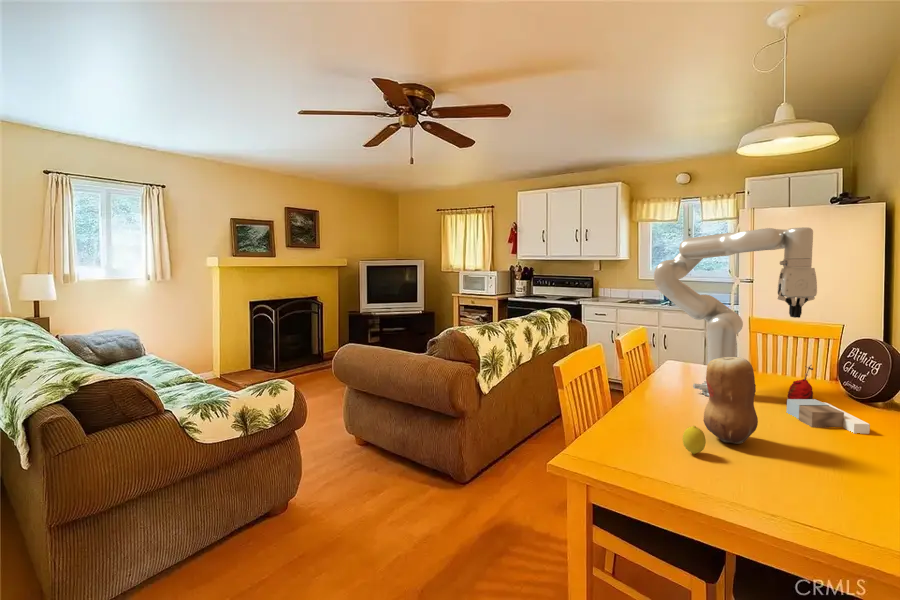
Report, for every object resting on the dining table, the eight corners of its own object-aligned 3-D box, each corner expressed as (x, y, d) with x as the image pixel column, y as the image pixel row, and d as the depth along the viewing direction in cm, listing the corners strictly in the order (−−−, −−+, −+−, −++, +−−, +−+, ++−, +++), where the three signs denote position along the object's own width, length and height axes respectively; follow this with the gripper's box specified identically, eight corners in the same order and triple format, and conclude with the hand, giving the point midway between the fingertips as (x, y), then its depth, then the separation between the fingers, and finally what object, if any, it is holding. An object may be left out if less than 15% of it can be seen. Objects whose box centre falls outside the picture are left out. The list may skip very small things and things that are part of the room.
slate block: (798, 419, 143) (799, 405, 143) (786, 413, 149) (787, 399, 149) (828, 420, 143) (829, 405, 142) (814, 413, 149) (815, 399, 148)
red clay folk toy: (795, 399, 162) (797, 360, 161) (817, 405, 156) (819, 363, 155) (783, 403, 159) (785, 362, 158) (805, 408, 153) (807, 366, 152)
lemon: (702, 451, 122) (703, 423, 121) (707, 459, 117) (708, 430, 116) (680, 448, 124) (681, 421, 123) (684, 457, 119) (684, 428, 118)
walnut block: (811, 427, 137) (812, 412, 136) (798, 420, 143) (799, 405, 142) (843, 428, 136) (843, 412, 135) (828, 421, 142) (829, 406, 141)
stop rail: (853, 433, 131) (854, 423, 131) (812, 410, 151) (812, 402, 151) (869, 434, 130) (869, 424, 130) (825, 411, 150) (826, 402, 150)
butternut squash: (699, 430, 137) (701, 351, 134) (749, 435, 132) (752, 353, 130) (708, 448, 124) (711, 361, 121) (765, 454, 119) (768, 364, 117)
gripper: (778, 264, 148) (776, 318, 150) (829, 263, 145) (826, 318, 147) (767, 264, 155) (765, 315, 157) (815, 263, 152) (812, 315, 154)
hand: (795, 317), depth 152 cm, fingers closed
